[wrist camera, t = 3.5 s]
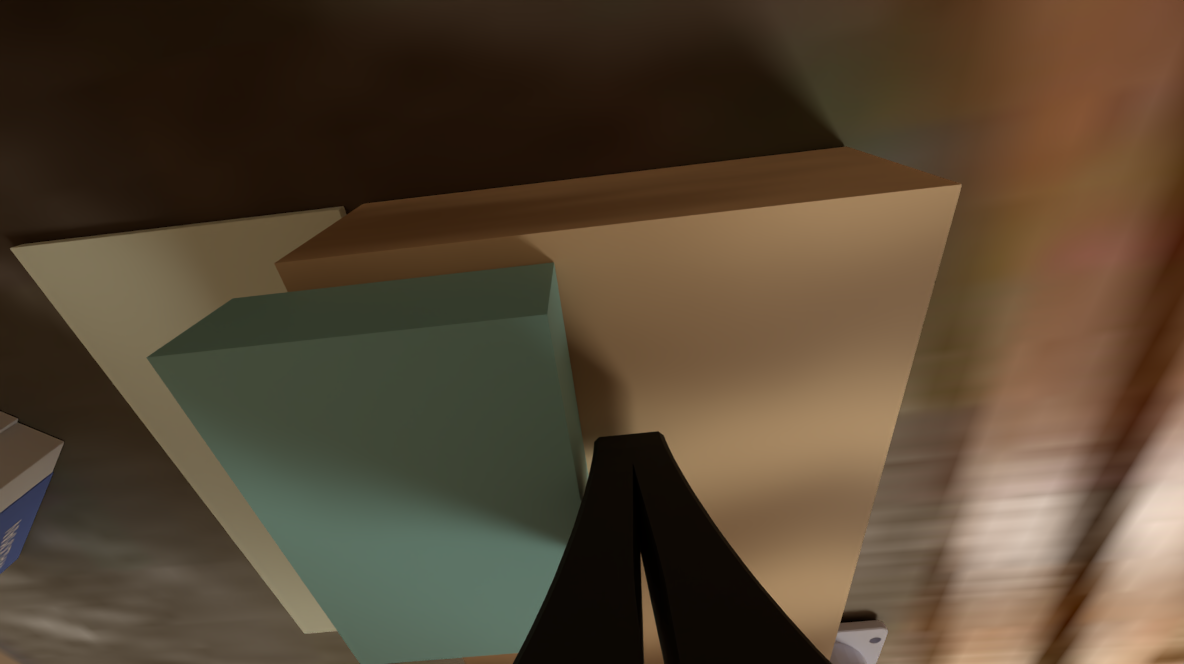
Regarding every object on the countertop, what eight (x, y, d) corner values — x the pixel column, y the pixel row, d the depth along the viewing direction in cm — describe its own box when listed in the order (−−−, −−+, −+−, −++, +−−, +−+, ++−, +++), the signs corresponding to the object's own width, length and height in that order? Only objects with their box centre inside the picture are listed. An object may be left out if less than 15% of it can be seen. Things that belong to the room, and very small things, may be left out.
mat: (494, 610, 21) (493, 617, 21) (307, 626, 21) (304, 633, 21) (343, 206, 12) (338, 209, 12) (21, 244, 12) (9, 248, 12)
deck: (779, 585, 20) (820, 692, 17) (506, 609, 21) (491, 718, 17) (846, 146, 11) (962, 184, 8) (362, 203, 12) (273, 263, 8)
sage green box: (603, 567, 13) (607, 645, 11) (390, 585, 13) (361, 665, 11) (554, 262, 8) (547, 314, 7) (232, 298, 9) (146, 357, 7)
